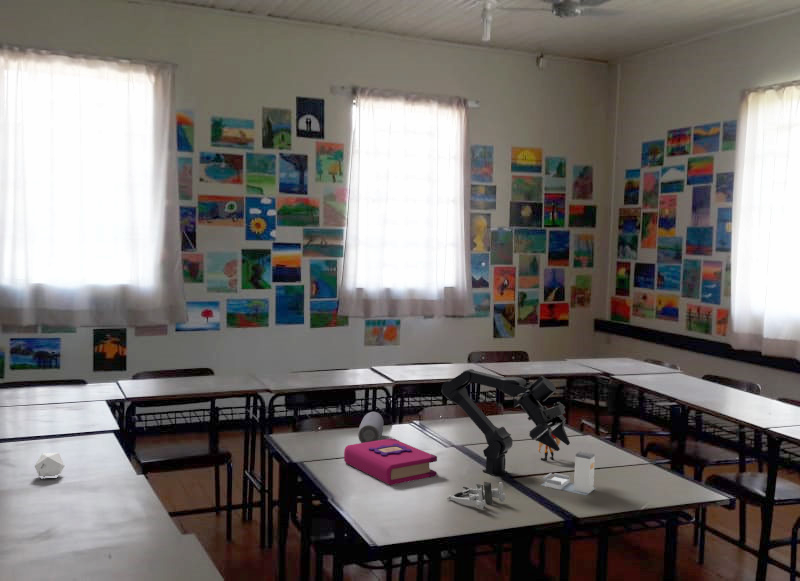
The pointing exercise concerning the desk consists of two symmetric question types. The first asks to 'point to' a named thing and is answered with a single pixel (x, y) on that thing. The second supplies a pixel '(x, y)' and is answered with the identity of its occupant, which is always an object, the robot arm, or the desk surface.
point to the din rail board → (561, 483)
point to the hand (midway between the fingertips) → (563, 447)
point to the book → (390, 460)
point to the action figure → (549, 448)
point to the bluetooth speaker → (371, 427)
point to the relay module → (584, 472)
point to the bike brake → (480, 495)
